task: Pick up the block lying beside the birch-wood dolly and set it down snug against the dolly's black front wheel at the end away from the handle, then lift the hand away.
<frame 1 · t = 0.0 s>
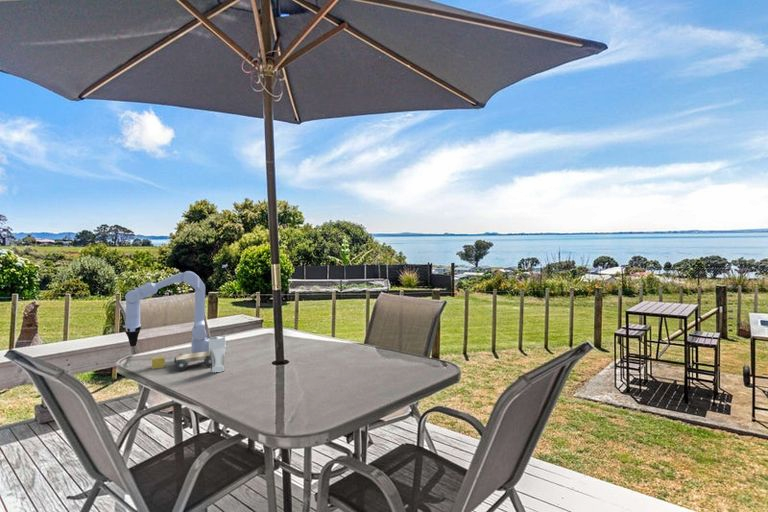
hand: (133, 344, 184), 10 cm above the table, tool pointing down, fingers open, 7 cm apart
beer glass: (217, 371, 173), on the table
dolly: (195, 365, 182), on the table
block: (158, 367, 181), on the table
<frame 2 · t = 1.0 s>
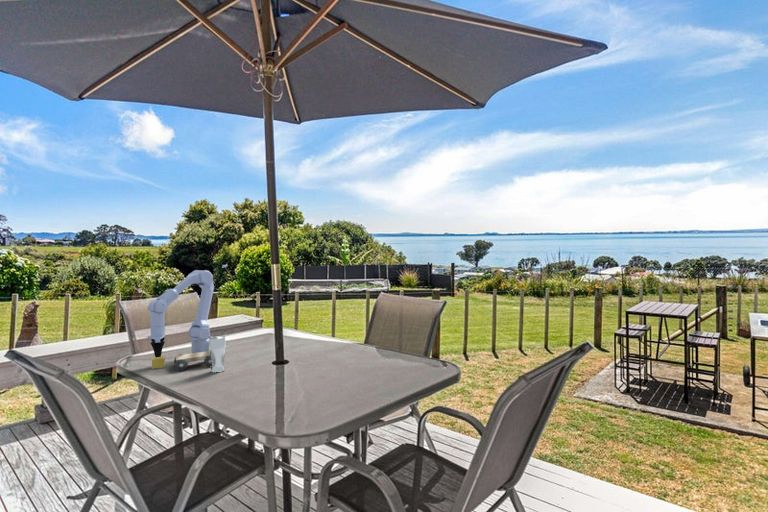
hand: (158, 355, 181), 6 cm above the table, tool pointing down, fingers open, 7 cm apart
nothing on the table moved.
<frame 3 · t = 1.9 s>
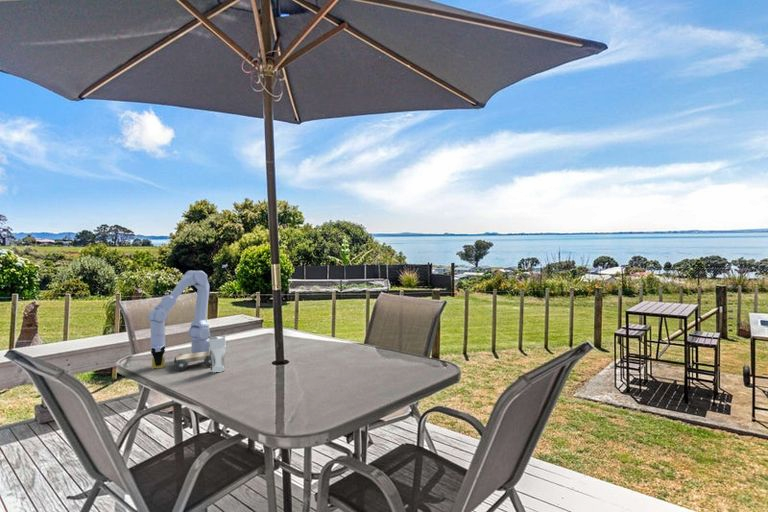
hand: (158, 364, 181), 1 cm above the table, tool pointing down, fingers closed on block, 4 cm apart
block: (158, 367, 181), on the table, touching gripper
everything else where it was.
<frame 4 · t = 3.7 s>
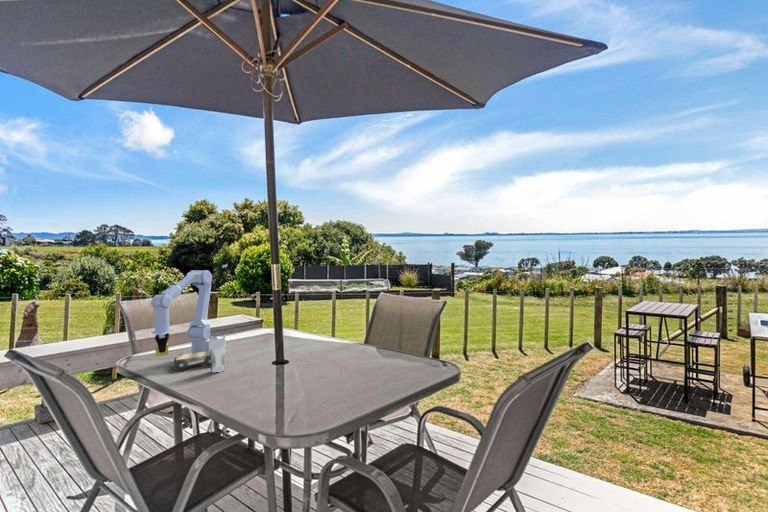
hand: (162, 351, 177), 8 cm above the table, tool pointing down, fingers closed on block, 4 cm apart
block: (162, 354, 177), point 7 cm above the table, touching gripper
everything else where it was.
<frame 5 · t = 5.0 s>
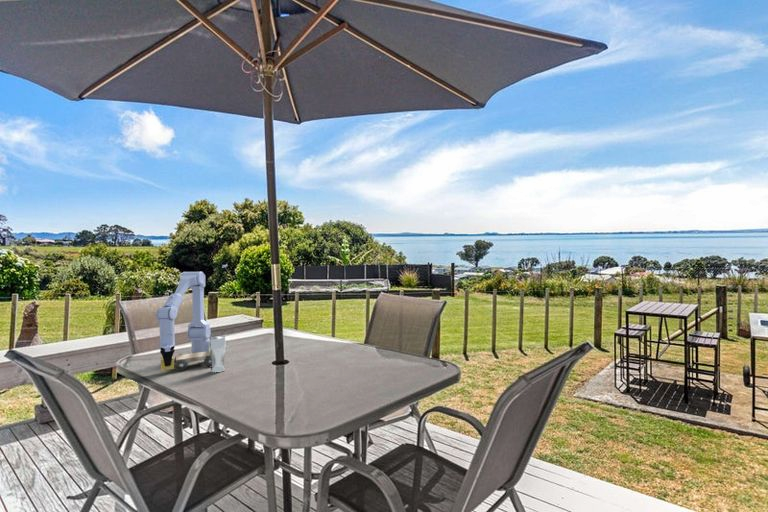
hand: (167, 364, 172), 4 cm above the table, tool pointing down, fingers closed on block, 4 cm apart
block: (167, 368, 172), point 2 cm above the table, touching gripper
everything else where it was.
when the fingers open (2 cm above the table, at t = 5.7 s): block stays where it is, on the table.
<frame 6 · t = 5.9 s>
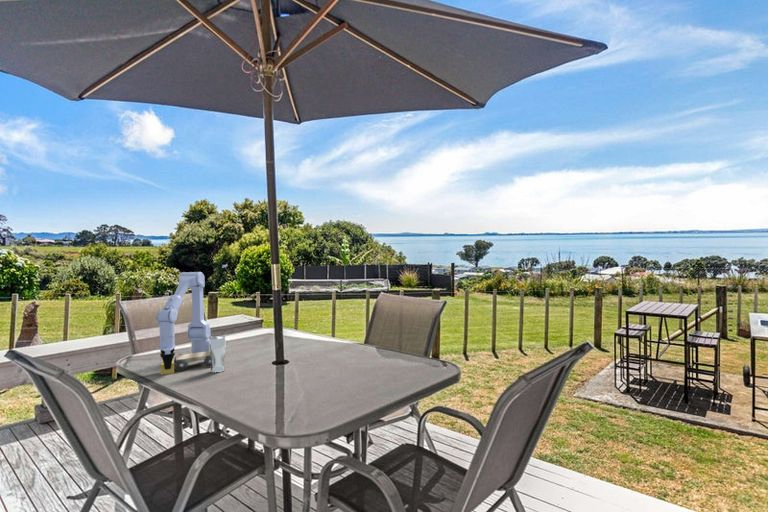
hand: (167, 367, 172), 2 cm above the table, tool pointing down, fingers open, 6 cm apart
block: (167, 373, 172), on the table
everything else where it was.
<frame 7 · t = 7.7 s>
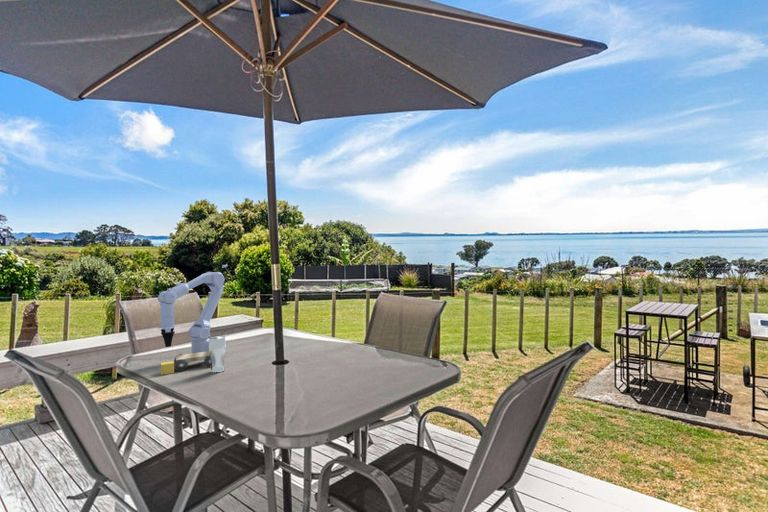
hand: (168, 345, 185), 9 cm above the table, tool pointing down, fingers open, 7 cm apart
nothing on the table moved.
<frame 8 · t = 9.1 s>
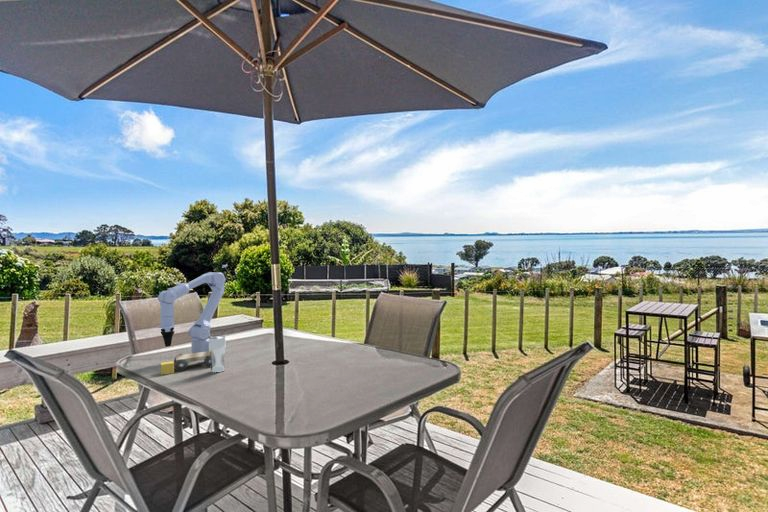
hand: (167, 344, 186), 9 cm above the table, tool pointing down, fingers open, 7 cm apart
nothing on the table moved.
at the end: block 0.2 cm from the target spot, on the table; block tilted 0°; the gripper is holding nothing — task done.
